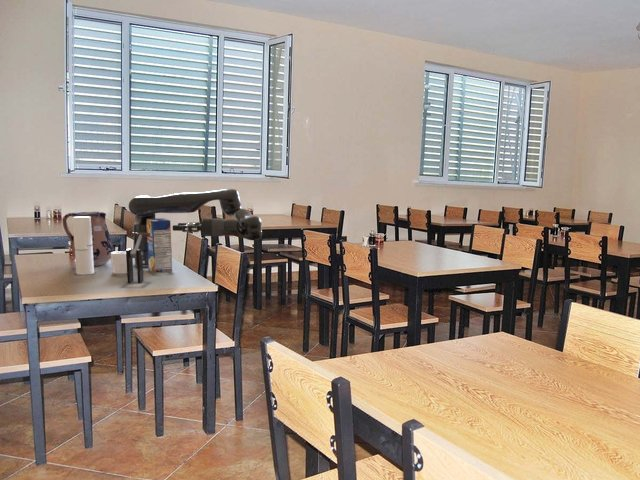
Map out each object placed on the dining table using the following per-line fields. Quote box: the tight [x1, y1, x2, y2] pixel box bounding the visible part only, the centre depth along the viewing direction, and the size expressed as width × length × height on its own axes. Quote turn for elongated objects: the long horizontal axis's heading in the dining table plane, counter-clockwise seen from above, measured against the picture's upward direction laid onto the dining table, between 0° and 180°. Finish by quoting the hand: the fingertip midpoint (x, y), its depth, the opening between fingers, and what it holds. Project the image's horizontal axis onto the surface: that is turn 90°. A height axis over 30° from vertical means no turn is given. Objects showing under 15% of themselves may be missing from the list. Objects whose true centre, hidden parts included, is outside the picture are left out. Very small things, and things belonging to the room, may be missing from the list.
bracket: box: [125, 248, 145, 284], centre depth 264 cm, size 10×8×15 cm
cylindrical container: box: [72, 216, 95, 276], centre depth 286 cm, size 7×7×25 cm
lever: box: [130, 232, 150, 259], centre depth 267 cm, size 14×7×2 cm
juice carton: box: [146, 217, 173, 274], centre depth 290 cm, size 12×8×24 cm, turn 34°
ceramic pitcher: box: [62, 211, 114, 267], centre depth 306 cm, size 18×21×25 cm
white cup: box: [110, 250, 127, 275], centre depth 285 cm, size 8×8×10 cm
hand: (175, 226), depth 275 cm, fingers open, 8 cm apart
